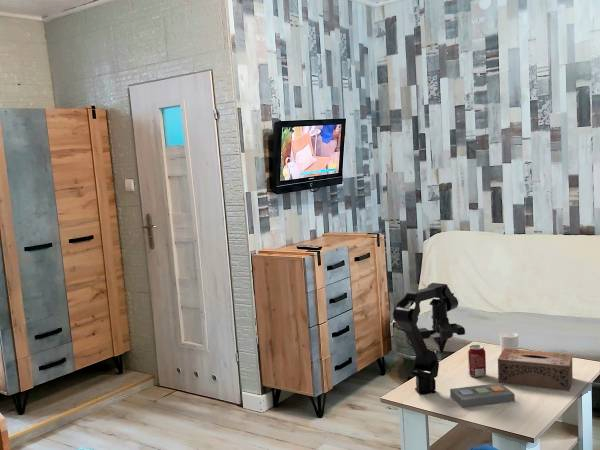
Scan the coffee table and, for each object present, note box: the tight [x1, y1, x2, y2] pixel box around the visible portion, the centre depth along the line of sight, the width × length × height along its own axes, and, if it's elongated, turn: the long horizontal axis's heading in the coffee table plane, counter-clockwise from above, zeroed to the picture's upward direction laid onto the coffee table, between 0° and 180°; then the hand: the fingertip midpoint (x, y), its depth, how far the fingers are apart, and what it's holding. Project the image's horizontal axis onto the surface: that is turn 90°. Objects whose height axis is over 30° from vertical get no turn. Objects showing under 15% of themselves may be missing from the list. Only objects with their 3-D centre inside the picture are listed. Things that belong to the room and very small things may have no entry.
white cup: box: [499, 331, 519, 354], centre depth 267 cm, size 8×8×10 cm
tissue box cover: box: [497, 348, 573, 392], centre depth 238 cm, size 26×14×10 cm, turn 62°
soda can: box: [467, 344, 487, 378], centre depth 247 cm, size 7×7×12 cm
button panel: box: [449, 382, 516, 409], centre depth 223 cm, size 20×11×3 cm, turn 99°
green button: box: [474, 388, 489, 394], centre depth 223 cm, size 4×4×3 cm
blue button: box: [459, 389, 474, 396], centre depth 223 cm, size 4×4×3 cm
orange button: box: [489, 386, 505, 392], centre depth 224 cm, size 4×4×3 cm
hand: (441, 352), depth 242 cm, fingers closed
